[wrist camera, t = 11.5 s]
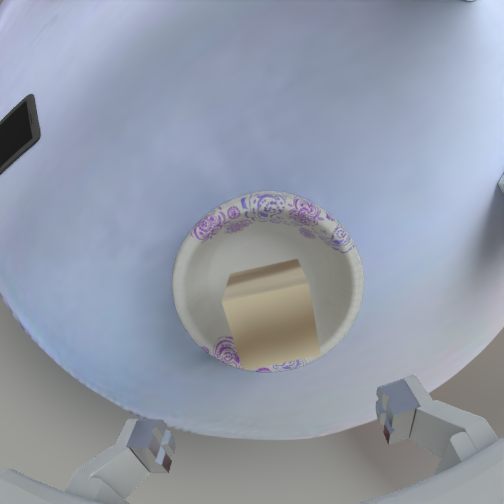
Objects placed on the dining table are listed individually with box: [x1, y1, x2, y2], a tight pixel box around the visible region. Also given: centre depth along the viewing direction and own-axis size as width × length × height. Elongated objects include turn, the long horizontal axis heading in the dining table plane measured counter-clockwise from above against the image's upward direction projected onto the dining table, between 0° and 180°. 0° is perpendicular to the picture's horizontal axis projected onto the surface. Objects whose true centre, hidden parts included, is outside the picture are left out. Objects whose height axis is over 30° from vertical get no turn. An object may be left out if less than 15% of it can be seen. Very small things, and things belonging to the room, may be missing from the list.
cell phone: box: [0, 94, 41, 174], centre depth 26 cm, size 7×14×1 cm, turn 110°
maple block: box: [222, 259, 320, 370], centre depth 19 cm, size 5×5×5 cm
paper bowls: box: [172, 191, 364, 373], centre depth 26 cm, size 15×15×8 cm
